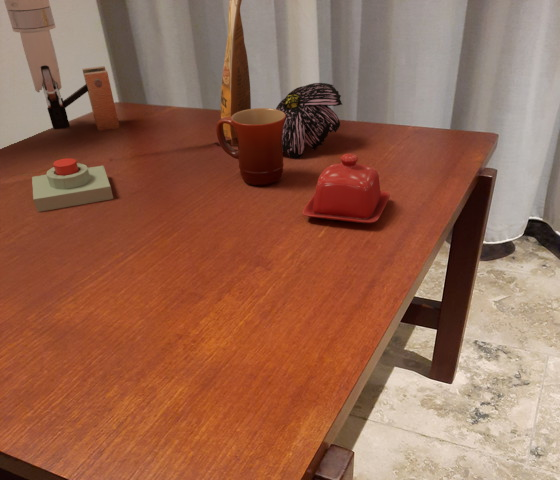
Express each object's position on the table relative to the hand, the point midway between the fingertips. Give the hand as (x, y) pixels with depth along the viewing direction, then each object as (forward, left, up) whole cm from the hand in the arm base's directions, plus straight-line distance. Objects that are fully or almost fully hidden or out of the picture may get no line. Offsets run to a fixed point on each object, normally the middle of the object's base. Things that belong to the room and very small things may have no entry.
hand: (60, 123), depth 113 cm
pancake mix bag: (+30, -21, -3) cm, 37 cm away
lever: (+5, -1, +4) cm, 7 cm away
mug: (+19, -43, -3) cm, 47 cm away
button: (-8, -29, +1) cm, 31 cm away
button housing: (-8, -29, -3) cm, 31 cm away
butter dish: (+23, -63, -3) cm, 67 cm away
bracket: (+9, -2, -3) cm, 9 cm away
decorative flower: (+35, -36, -3) cm, 50 cm away
